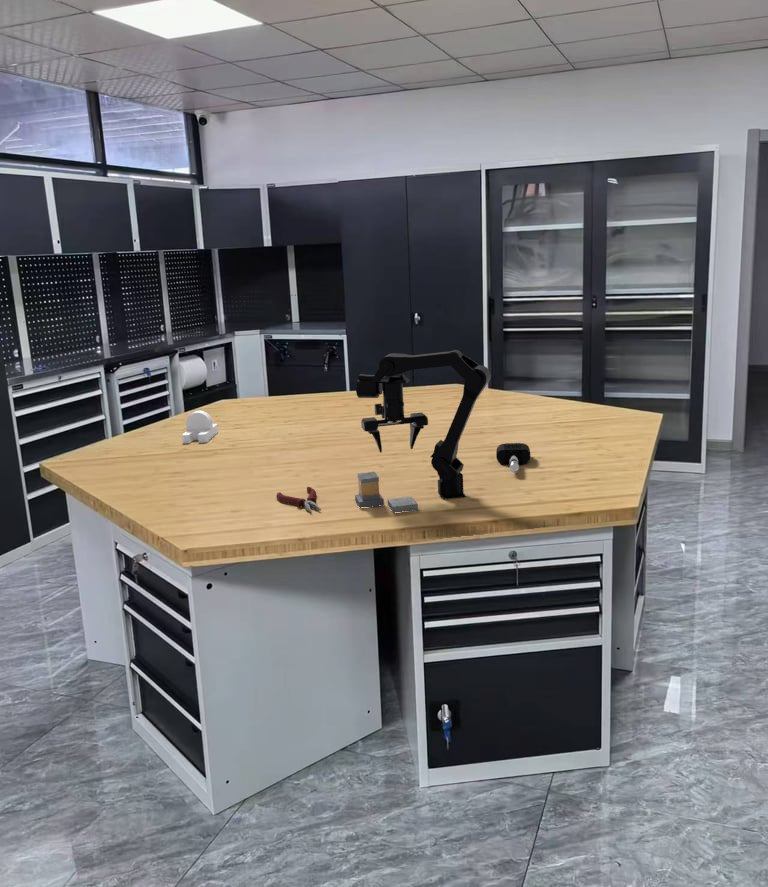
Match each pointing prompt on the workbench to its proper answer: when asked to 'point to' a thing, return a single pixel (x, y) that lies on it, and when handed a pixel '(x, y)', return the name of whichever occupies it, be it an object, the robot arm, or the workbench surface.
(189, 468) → the workbench surface
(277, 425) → the workbench surface
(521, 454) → the audio adapter
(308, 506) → the pliers
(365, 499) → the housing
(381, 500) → the stand
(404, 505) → the stand
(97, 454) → the workbench surface
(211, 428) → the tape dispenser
